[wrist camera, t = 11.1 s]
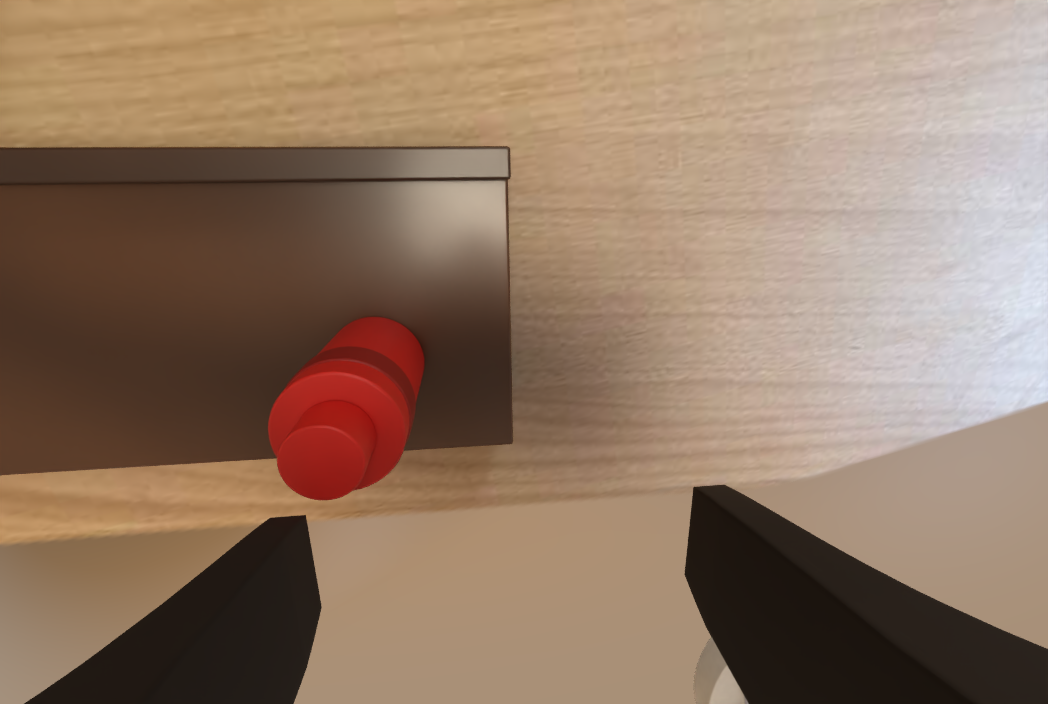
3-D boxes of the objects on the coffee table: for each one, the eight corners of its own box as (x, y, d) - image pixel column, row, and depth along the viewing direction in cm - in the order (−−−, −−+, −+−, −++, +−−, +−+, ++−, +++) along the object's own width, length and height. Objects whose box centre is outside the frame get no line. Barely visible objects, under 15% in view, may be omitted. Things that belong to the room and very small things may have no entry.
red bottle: (438, 391, 15) (421, 506, 10) (348, 416, 15) (277, 547, 10) (408, 303, 14) (369, 373, 9) (312, 330, 14) (210, 417, 9)
